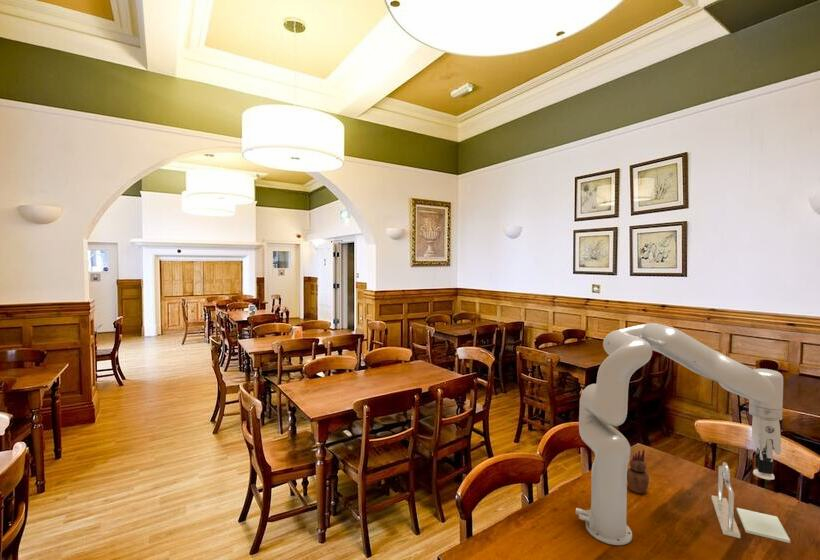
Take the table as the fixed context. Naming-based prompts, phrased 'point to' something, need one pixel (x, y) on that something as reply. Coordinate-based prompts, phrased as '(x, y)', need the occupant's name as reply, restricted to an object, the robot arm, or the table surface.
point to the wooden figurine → (638, 474)
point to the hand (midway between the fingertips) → (763, 470)
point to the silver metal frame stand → (725, 504)
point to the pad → (762, 525)
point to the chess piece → (763, 475)
